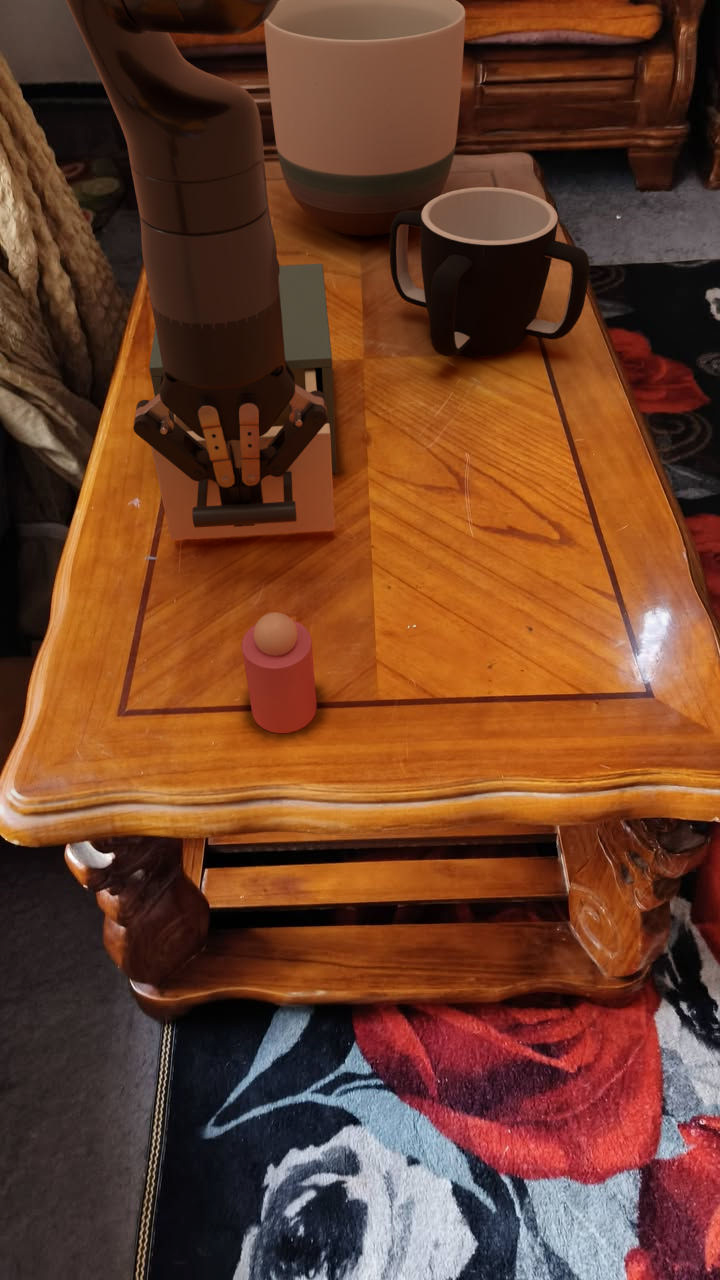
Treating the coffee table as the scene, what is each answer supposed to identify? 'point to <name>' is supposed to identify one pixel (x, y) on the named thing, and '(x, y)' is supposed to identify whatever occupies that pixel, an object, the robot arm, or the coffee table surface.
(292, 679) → the doll
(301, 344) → the cabinet
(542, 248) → the mug
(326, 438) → the drawer
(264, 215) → the robot arm
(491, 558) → the coffee table surface
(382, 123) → the planter
